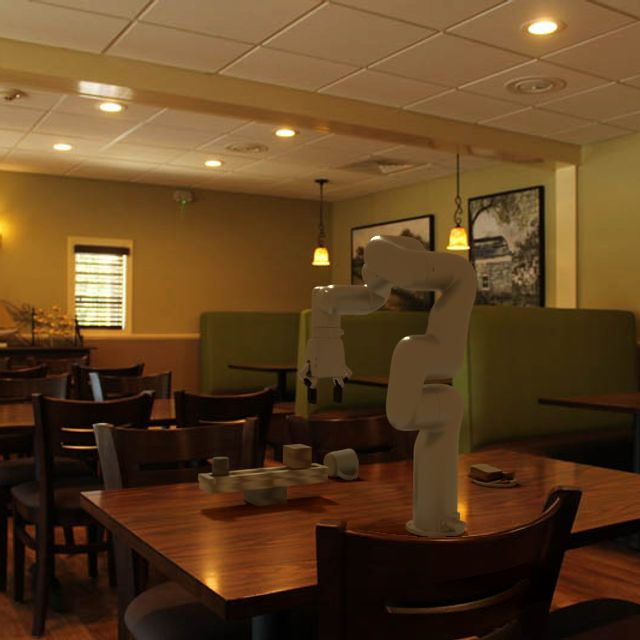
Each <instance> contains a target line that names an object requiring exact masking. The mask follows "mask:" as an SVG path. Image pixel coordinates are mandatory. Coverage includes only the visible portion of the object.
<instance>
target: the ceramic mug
mask: <svg viewBox="0 0 640 640" xmlns="http://www.w3.org/2000/svg"><path fill="white" fill-rule="evenodd" d="M359 463H360V462H359V458H358V454H357V453H356V451H355V450H354V449H352V448H346V449H342V450H337V451H336V450H335V451H330V452H328V453H327V454H326V455H325V456H324V458H323V466H326V467H329V474H328V477H330V478H341V479H343V480H345V481H354V480H353V479H355V480H357V479H358V475H359V467H360V465H359ZM351 475H353V476H351Z"/></svg>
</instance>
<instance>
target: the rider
mask: <svg viewBox="0 0 640 640" xmlns="http://www.w3.org/2000/svg"><path fill="white" fill-rule="evenodd" d="M312 449H313V448H312V446H309V445H305V444H301V443H298V444H286V445H285V444H284V445H283V446H282V466H287V467H290V468H288V470H293V469H303V468H308V467H312V463H313V461H312V454H313V453H312V452H313V451H312Z"/></svg>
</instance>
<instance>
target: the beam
mask: <svg viewBox="0 0 640 640" xmlns="http://www.w3.org/2000/svg"><path fill="white" fill-rule="evenodd" d="M211 461H212V462H211V463H212V464H211V468H212V469H211V472H208V473H198V475H197V476H198V477H197V481H198V482H199V483H198V488H199V490H201V491H203V492H206V493H207V494H209V495H216V494H226V493H227V494H229V493H236V492H243V493H242V494H243V496H242V497H243V498H242V499H243V501H245V502H248V503H249V504H252V505H254V506H256V507H263V506H271V505H280V504H287V503H288V498H287V497H288V487H291V486H302V485H309V484H312V485H313V484H318V483H328V481H329V476H328V474H329V467H326V466H324V464H323V465H322V464H320V463H316V462H312V467H308V468H303V469H293V470H288V468H290V467H287V466H284V465H281V466H271V467H258V468H252V469H251V468H250V469H238V470H230V458H229V457H228V456H215V457H212V460H211Z"/></svg>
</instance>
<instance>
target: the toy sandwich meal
mask: <svg viewBox="0 0 640 640" xmlns="http://www.w3.org/2000/svg"><path fill="white" fill-rule="evenodd" d="M516 475H517V470H513V471H510V472H509V471H508V472H506V471H504V470H502V469H500V468H497V467H494V466H491V465H489V464H488V463H487V464H486V463H476V464H472V465H470V468H469V470H468V472H467V478H469V479H472V481H473V483H474V484H475V485H479V486H481V487H488V488H499V489H500V488H502V489H503V488H510V487H511V488H512V487H515V486H516V485H517V484H518V483H519V481H518V479H516V478H515V477H516Z"/></svg>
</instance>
